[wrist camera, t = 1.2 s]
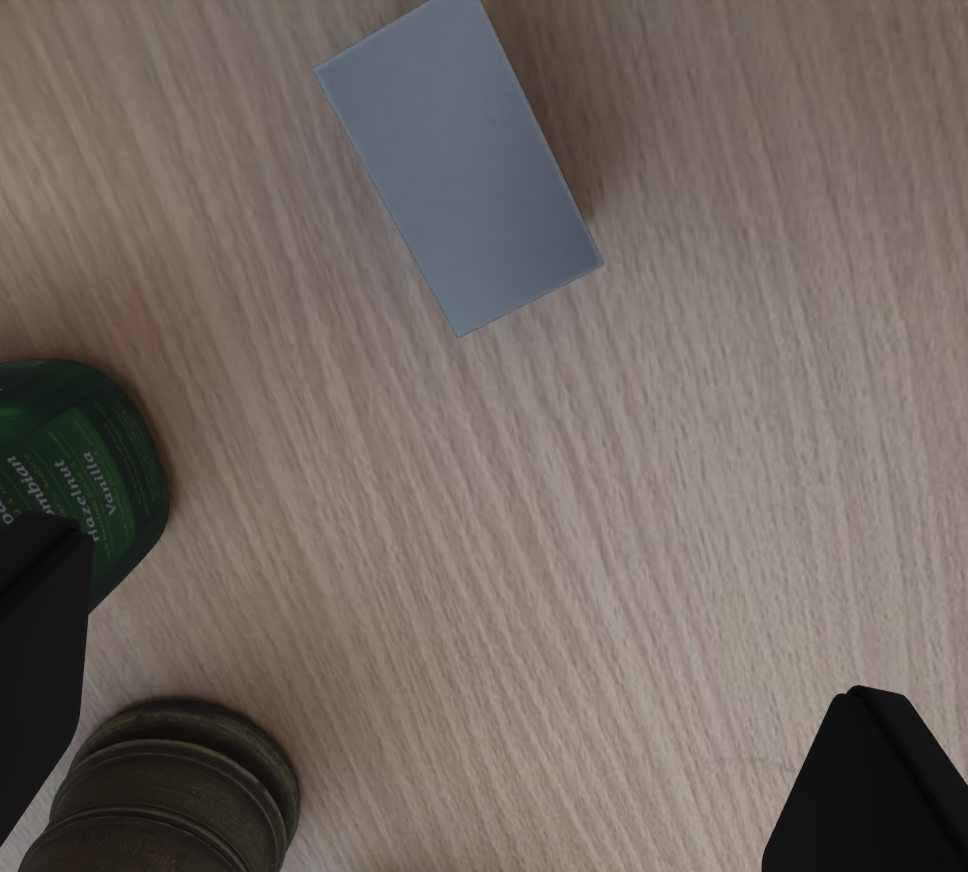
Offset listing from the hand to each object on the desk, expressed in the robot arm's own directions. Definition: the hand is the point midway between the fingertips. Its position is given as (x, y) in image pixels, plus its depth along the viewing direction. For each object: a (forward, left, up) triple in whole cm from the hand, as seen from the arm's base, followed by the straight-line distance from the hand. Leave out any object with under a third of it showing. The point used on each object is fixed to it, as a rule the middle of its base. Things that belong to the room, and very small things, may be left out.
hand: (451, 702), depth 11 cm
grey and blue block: (-2, -5, -18) cm, 19 cm away
